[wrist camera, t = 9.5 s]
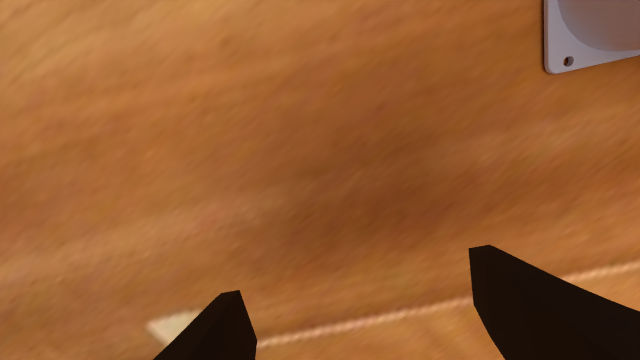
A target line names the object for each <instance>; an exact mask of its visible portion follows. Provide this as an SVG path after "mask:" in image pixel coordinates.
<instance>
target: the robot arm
mask: <svg viewBox="0 0 640 360" xmlns="http://www.w3.org/2000/svg"><path fill="white" fill-rule="evenodd" d="M639 55H640V0H544V66H545V70H546V71H547V72H548V73H550V74H558V73H562V72H567V71H571V70H576V69H580V68H585V67H589V66H594V65H598V64H603V63H607V62H612V61H616V60H621V59H625V58H630V57H634V56H639ZM566 57H567V58H568V64H567V65H566V66H564V64H563V62H564V59H565V58H566ZM469 259H470V270H471V281H472V292H473V302H474V306H475V308H476V310H477V312H478V314H479V316H480V318H481V320H482V322H483V324H484V326H485V328H486V330H487V332H488V334H489V335H490V337H491V339H492V340H493V342H494V343H495V345H496V346H497V348H498V349H499V351H500V352H501V354H502V355H503V357H504V358H505V360H640V311H637V310H634V309H631V308H629V307H626V306H623V305H621V304H618V303H616V302H613V301H611V300H608V299H606V298H603V297H601V296H599V295H596V294H594V293H592V292H589V291H587V290H584V289H582V288H580V287H577V286H575V285H573V284H571V283H569V282H566V281H564V280H562V279H560V278H558V277H555V276H553V275H551V274H549V273H547V272H545V271H543V270H541V269H539V268H537V267H535V266H533V265H530V264H528V263H526V262H524V261H522V260H520V259H518V258H516V257H514V256H512V255H510V254H508V253H506V252H504V251H502V250H500V249H498V248H496V247H494V246H491V245H485V246H479V247H474V248H469ZM256 346H257V338H256V336H255V333H254V330H253V327H252V324H251V321H250V319H249V316H248V313H247V310H246V307H245V305H244V302H243V299H242V296H241V293H240V290H236V291H231V292H225V293H221V294H220V295H219V296H218V297H216V298H215V299H214V300H213V301H212V302H211V303H210V304H209V305H208V306H207V307H206V308H205V309H204V310H203V311H202V312H201V313H200V314H199V315H198V316H197V317H196V318H195V319H194V320H193V321H192V322H191V323H190V324H189V325H188V326H187V327H186V328H185V329H184V330H183V331H182V332H181V333H180V334H179V335H178V336H177V337H176V338H175V339H174V340H173V341H172V342H171V343H170V344H169V345H168V346H167V347H166V348H165V349H164V350H163V351H162V352H160V353H159V354H158V355H157V356H156V357H155V358H154V359H153V360H255V355H256Z"/></svg>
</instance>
